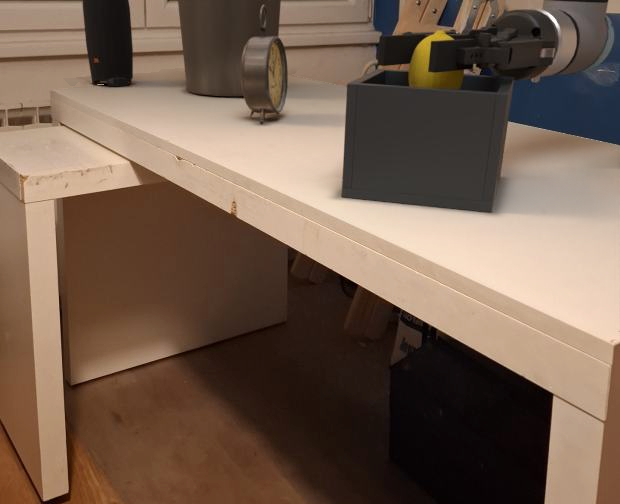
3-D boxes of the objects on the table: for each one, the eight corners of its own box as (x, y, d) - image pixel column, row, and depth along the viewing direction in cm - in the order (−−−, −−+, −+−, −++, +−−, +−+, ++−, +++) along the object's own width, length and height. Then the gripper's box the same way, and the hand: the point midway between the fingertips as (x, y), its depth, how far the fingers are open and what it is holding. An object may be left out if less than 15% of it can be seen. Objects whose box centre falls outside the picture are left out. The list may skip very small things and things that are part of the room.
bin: (500, 178, 86) (514, 76, 81) (491, 212, 73) (507, 94, 68) (371, 166, 90) (377, 68, 85) (341, 197, 77) (346, 83, 72)
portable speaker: (105, 88, 143) (94, -27, 134) (81, 82, 149) (69, -28, 140) (144, 85, 148) (136, -26, 139) (119, 80, 154) (111, -27, 145)
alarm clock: (269, 126, 112) (270, 6, 105) (235, 123, 113) (233, 4, 106) (289, 115, 121) (291, 4, 114) (257, 112, 122) (256, 3, 115)
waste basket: (167, 82, 153) (159, -88, 140) (265, 82, 159) (266, -82, 146) (187, 102, 130) (179, -99, 117) (301, 101, 135) (305, -92, 122)
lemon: (397, 109, 80) (404, 27, 76) (446, 108, 81) (454, 28, 78) (417, 118, 75) (425, 31, 72) (468, 117, 76) (478, 32, 73)
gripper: (598, 88, 83) (484, 107, 68) (458, 70, 95) (333, 83, 79) (612, 14, 80) (496, 17, 65) (465, 5, 91) (336, 5, 76)
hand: (406, 53), depth 72 cm, fingers closed on lemon, 5 cm apart
